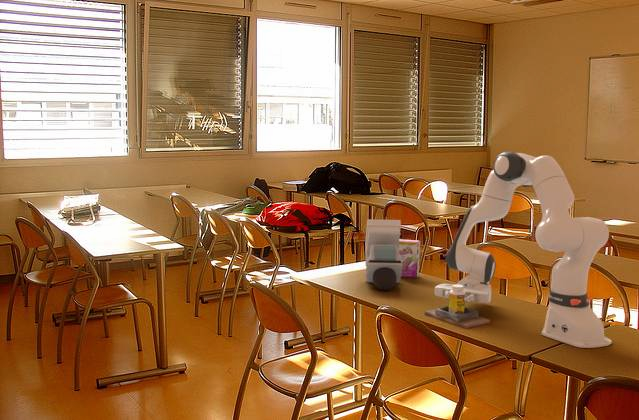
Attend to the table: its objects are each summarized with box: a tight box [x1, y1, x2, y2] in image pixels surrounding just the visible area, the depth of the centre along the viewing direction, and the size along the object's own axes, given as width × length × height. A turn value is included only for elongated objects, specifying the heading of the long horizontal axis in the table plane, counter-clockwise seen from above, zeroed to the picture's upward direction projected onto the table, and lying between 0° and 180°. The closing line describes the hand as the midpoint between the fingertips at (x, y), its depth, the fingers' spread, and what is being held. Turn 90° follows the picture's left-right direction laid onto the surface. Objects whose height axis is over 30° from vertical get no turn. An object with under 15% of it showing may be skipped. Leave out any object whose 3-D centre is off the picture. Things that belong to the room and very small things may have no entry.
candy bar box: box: [399, 238, 421, 279], centre depth 306 cm, size 11×5×16 cm, turn 74°
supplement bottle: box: [448, 283, 466, 315], centre depth 242 cm, size 6×6×10 cm
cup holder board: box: [423, 305, 491, 329], centre depth 242 cm, size 20×12×3 cm, turn 36°
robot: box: [364, 218, 402, 291], centre depth 289 cm, size 14×22×30 cm
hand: (456, 298), depth 241 cm, fingers closed on supplement bottle, 5 cm apart
